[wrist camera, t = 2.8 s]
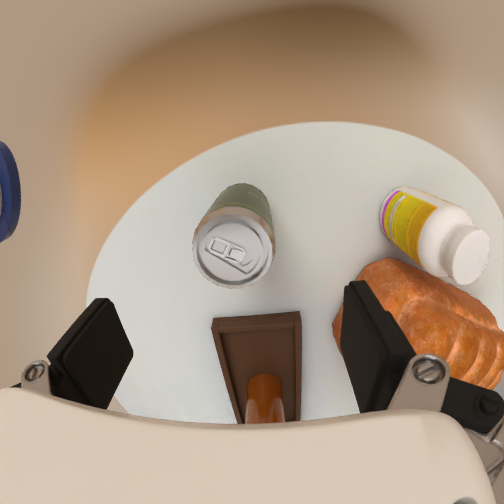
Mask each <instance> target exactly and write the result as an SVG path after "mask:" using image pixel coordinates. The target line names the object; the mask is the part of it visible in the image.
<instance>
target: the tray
mask: <svg viewBox="0 0 504 504" xmlns="http://www.w3.org/2000/svg"><path fill="white" fill-rule="evenodd" d="M211 330H212V334H213V338H214V342H215V346H216V350H217V353H218V357H219V361H220V365H221V368H222V372H223V376H224V379H225V383H226V386H227V390H228V393H229V397H230V400H231V403H232V407H233V410H234V413H235V417H236V420H237V423H238V424H245V418H246V396H247V382H248V381H249V379H250V378H252V377H253V376H256V375H259V374H271V375H274V376H277V377H278V378H279V379H280V380H281V382H282V389H283V402H284V415H285V422H295V421H300V411H301V368H302V325H301V317H300V312H299V311H297V312H288V313H277V314H266V315H254V316H240V317H224V318H213V322H212V327H211Z"/></svg>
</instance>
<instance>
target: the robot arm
mask: <svg viewBox="0 0 504 504" xmlns="http://www.w3.org/2000/svg"><path fill="white" fill-rule="evenodd" d="M1 211H2V190H1V184H0V216H1ZM340 348H341V352H342V355H343V358H344V361H345V364H346V367H347V371H348V374H349V377H350V380H351V384H352V387H353V390H354V393H355V397H356V400H357V404H358V407H359V411H360V414H353V415H345V416H339V417H332V418H324V419H316V420H306V421H295V422H282V423H264V424H214V423H195V422H182V421H172V420H163V419H155V418H148V417H142V416H136V415H130V414H124V413H119V412H114V411H109V410H107V408H108V406H109V403H110V401H111V399H112V397H113V395H114V393H115V391H116V389H117V387H118V385H119V383H120V381H121V379H122V377H123V375H124V373H125V371H126V369H127V367H128V365H129V363H130V361H131V359H132V357H133V349H132V347H131V344H130V342H129V340H128V338H127V336H126V333H125V331H124V329H123V326H122V324H121V321H120V319H119V316H118V314H117V311H116V309H115V306H114V304H113V302H111V301H110V300H109V299H108V298H96V299H94V301H93V302H92V303H91V304H90V305H89V306H88V307H87V308H86V309H85V311H84V312H83V313H82V314H81V315H80V316H79V318H78V319H77V320H76V321H75V322H74V323H73V324H72V326H71V327H70V328H69V329H68V330H67V331H66V333H65V334H64V335H63V336H62V337H61V339H60V340H59V341H58V342H57V344H56V345H55V346H54V347H53V349H52V350H51V351H50V352H49V354H48V355H47V358H48V359H49V361H50V362H51V365H50V366H49V365H48V364H47V362H46V361H43V360H37V361H34V362H32V363H30V364H29V365H28V366H27V367H26V368H25V369H24V371H23V373H22V378H21V383H19V384H17V385H14V386H12V387H10V388H3V389H0V504H504V401H503V399H502V397H501V396H500V395H499V394H498V393H497V392H495V391H493V390H490V389H487V388H484V387H480V386H477V385H474V384H471V383H468V382H465V381H462V380H459V379H456V378H453V377H450V368H449V365H448V364H447V362H446V361H445V360H444V359H443V358H441V357H440V356H437V355H435V354H429V353H424V354H419V355H417V354H416V352H415V351H414V349H413V347H412V346H411V344H410V342H409V341H408V339H407V337H406V336H405V334H404V333H403V331H402V329H401V328H400V326H399V325H398V323H397V322H396V320H395V318H394V317H393V315H392V314H391V313H390V312H389V311H385V310H384V308H383V306H382V305H381V303H380V302H379V300H378V299H377V297H376V296H375V294H374V293H373V291H372V290H371V288H370V287H369V285H368V284H367V282H366V281H365V280H358V281H350V282H349V286H345V288H344V301H343V314H342V325H341V335H340Z"/></svg>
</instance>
